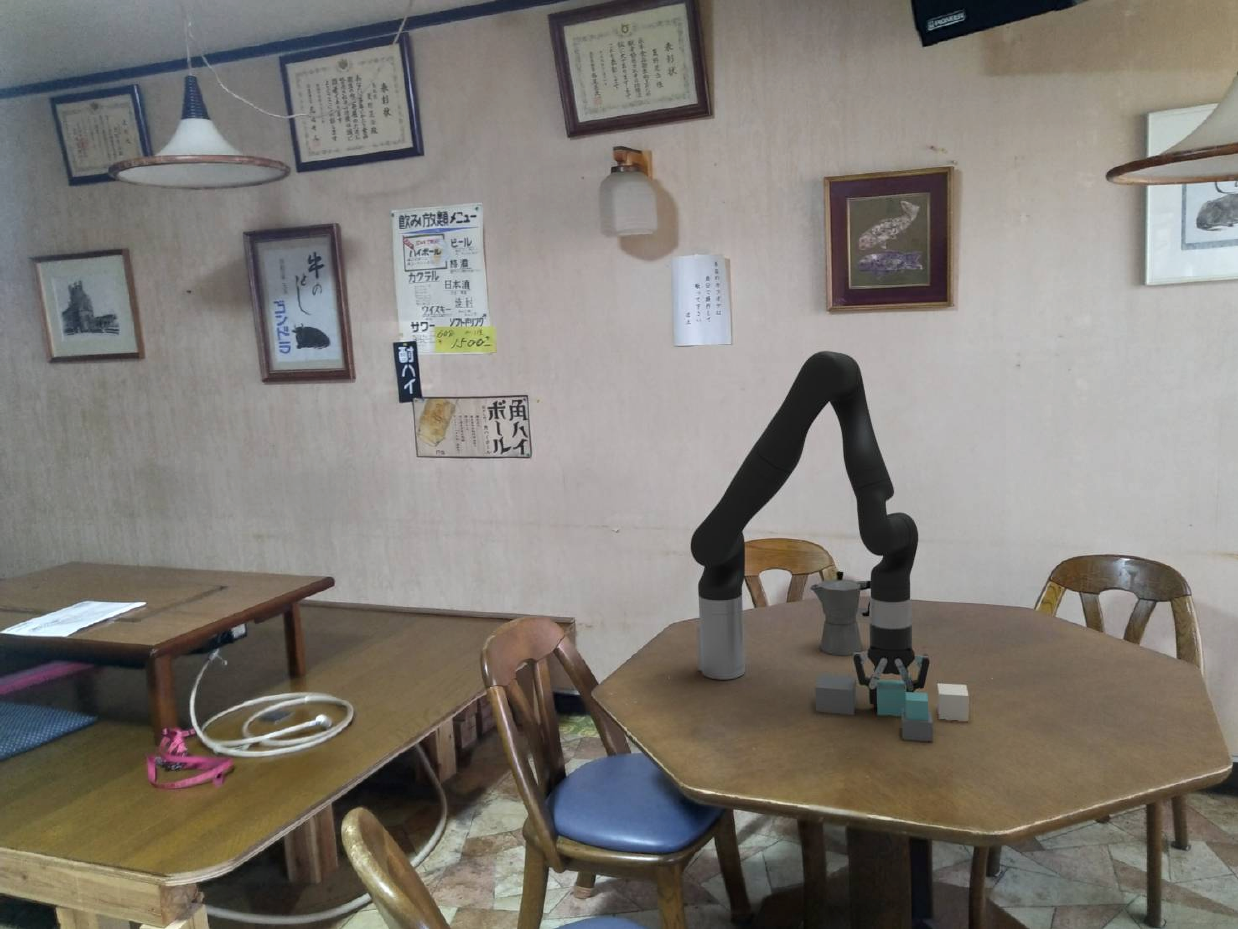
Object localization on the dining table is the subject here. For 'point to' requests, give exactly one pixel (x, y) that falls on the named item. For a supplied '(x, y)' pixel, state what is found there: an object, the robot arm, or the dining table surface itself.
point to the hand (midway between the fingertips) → (891, 706)
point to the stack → (917, 718)
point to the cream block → (953, 702)
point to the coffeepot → (841, 614)
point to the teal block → (891, 697)
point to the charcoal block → (835, 694)
